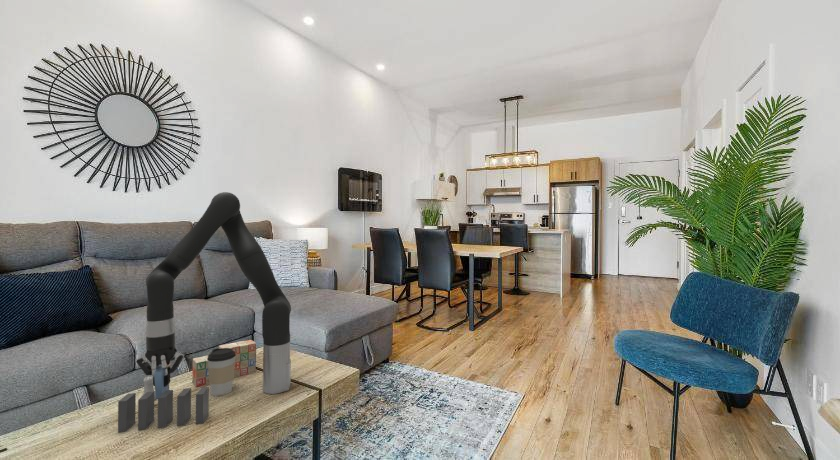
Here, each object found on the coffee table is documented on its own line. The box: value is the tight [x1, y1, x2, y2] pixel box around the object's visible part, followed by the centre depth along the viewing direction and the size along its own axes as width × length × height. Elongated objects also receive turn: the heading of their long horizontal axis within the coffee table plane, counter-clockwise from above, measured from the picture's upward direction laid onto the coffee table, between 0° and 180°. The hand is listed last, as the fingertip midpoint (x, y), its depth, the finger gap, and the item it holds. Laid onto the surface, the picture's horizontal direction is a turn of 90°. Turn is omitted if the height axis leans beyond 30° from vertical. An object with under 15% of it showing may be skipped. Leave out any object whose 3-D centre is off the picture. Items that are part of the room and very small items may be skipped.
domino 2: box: [137, 390, 155, 431], centre depth 107 cm, size 2×5×9 cm, turn 14°
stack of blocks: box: [191, 339, 257, 388], centre depth 141 cm, size 21×6×12 cm, turn 133°
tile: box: [154, 365, 170, 400], centre depth 115 cm, size 2×5×9 cm, turn 15°
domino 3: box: [157, 389, 174, 429], centre depth 108 cm, size 2×5×9 cm, turn 14°
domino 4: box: [176, 388, 192, 427], centre depth 109 cm, size 2×5×9 cm, turn 14°
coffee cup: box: [207, 347, 236, 397], centre depth 129 cm, size 9×9×15 cm
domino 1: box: [117, 392, 137, 434], centre depth 105 cm, size 2×5×9 cm, turn 14°
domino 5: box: [195, 386, 210, 425], centre depth 110 cm, size 2×5×9 cm, turn 14°
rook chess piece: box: [140, 375, 157, 401], centre depth 122 cm, size 4×4×8 cm
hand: (161, 386), depth 115 cm, fingers closed on tile, 1 cm apart
